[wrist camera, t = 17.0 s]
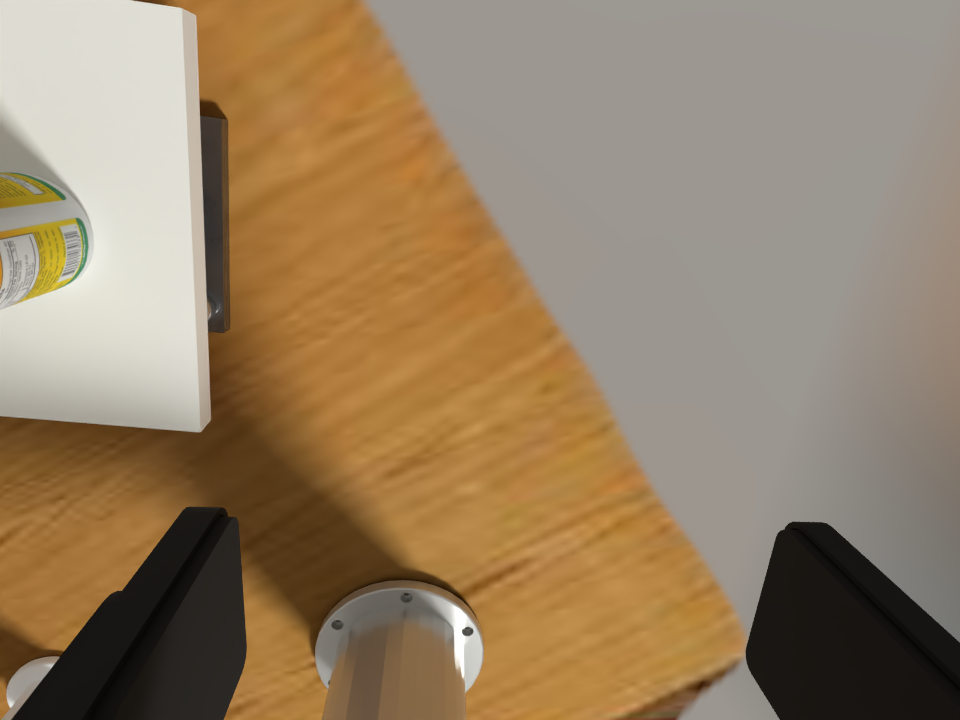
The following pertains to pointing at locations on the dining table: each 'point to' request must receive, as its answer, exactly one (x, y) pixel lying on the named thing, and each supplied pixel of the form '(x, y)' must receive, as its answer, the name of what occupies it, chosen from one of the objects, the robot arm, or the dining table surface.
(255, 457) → the dining table surface
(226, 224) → the tribrach base
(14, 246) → the supplement bottle
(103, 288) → the level board
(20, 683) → the candle
